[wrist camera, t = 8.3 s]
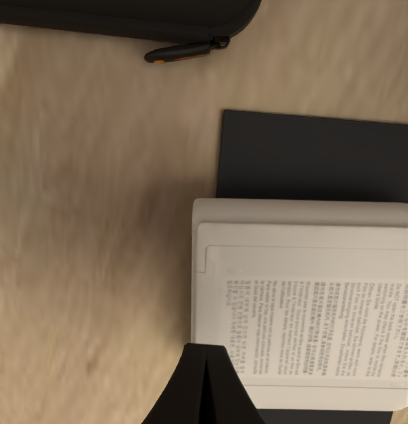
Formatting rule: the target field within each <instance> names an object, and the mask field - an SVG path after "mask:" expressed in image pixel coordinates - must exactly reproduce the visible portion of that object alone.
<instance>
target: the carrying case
mask: <svg viewBox="0 0 408 424" xmlns="http://www.w3.org/2000/svg"><path fill="white" fill-rule="evenodd" d="M261 1H262V0H0V23H5V24H14V25H23V26H31V27H40V28H49V29H58V30H67V31H76V32H85V33H93V34H102V35H111V36H120V37H129V38H138V39H147V40H155V41H164V42H173V43H182V44H184V45H178V46H172V47H167V48H161V49H156V50H153V51H151V52H148V53H147V54H145V56H144V59H145V60H146V61H147V62H149V63H166V62H173V61H180V60H186V59H191V58H195V57H201V56H205V55H208V54H210V52H211V50H213V49H224V48H226V47H227V46H228V45H229V42H230V38H232V37H234V36H235V35H237V34H238V33H240V32H241V31H242V30H243V29H244V28H245V27H246V26H247V25H248V24H249V23H250V21H251V20H252V19H253V17H254V16H255V14H256V12H257V10H258V8H259V6H260V3H261ZM209 42H210V43H209ZM225 44H226V45H225ZM222 45H224V46H222Z"/></svg>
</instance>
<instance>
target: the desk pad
mask: <svg viewBox="0 0 408 424" xmlns="http://www.w3.org/2000/svg"><path fill="white" fill-rule="evenodd" d="M216 198H227V199H274V200H312V201H351V202H398V203H407V204H408V125H401V124H389V123H377V122H365V121H353V120H341V119H329V118H317V117H305V116H293V115H281V114H269V113H257V112H245V111H233V110H224V115H223V126H222V137H221V148H220V159H219V170H218V181H217V192H216ZM257 410H258V412H259V413H260V415H261V416H262V418H263V419H264V421H265V422H266V424H390V421H391V417H392V414H393V411H361V410H314V409H257Z"/></svg>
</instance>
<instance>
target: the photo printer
mask: <svg viewBox="0 0 408 424" xmlns="http://www.w3.org/2000/svg"><path fill="white" fill-rule="evenodd" d="M191 343H199V344H212V345H224V346H225V348H226V349H227V352H228V354H229V357H230V359H231V362H232V364H233V366H234V368H235V370H236V372H237V375H238V377H239V378H240V380H241V382H242V384H243V386H244V388H245V390H246V391H247V393H248V395H249V397H250V399H251V400H252V402H253V404H254V405H255V407H256V408H257V409H314V410H361V411H397V410H401V409H404V408H406V407H408V204H407V203H398V202H351V201H312V200H274V199H227V198H197V199H196V200H195V201H194V203H193V211H192V282H191Z"/></svg>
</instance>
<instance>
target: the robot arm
mask: <svg viewBox="0 0 408 424" xmlns="http://www.w3.org/2000/svg"><path fill="white" fill-rule="evenodd" d="M141 424H266V422H265V421H264V419H263V418H262V416H261V415H260V413H259V412H258V410H257V408H256V407H255V405H254V404H253V402H252V400H251V399H250V397H249V395H248V393H247V391H246V390H245V388H244V386H243V384H242V382H241V380H240V378H239V377H238V375H237V372H236V370H235V368H234V366H233V364H232V362H231V359H230V357H229V354H228V352H227V349H226V348H225V346H224V345H212V344H199V343H187V344H186V345H184V349H183V352H182V355H181V358H180V360H179V362H178V365H177V367H176V369H175V371H174V373H173V375H172V376H171V378H170V380H169V382H168V384H167V386H166V387H165V389H164V391H163V392H162V394H161V395H160V397H159V399H158V400H157V402H156V403H155V405H154V406H153V408H152V409H151V411H150V412H149V414H148V415H147V417H146V418H145V419H144V421H143V422H142V423H141Z"/></svg>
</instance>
